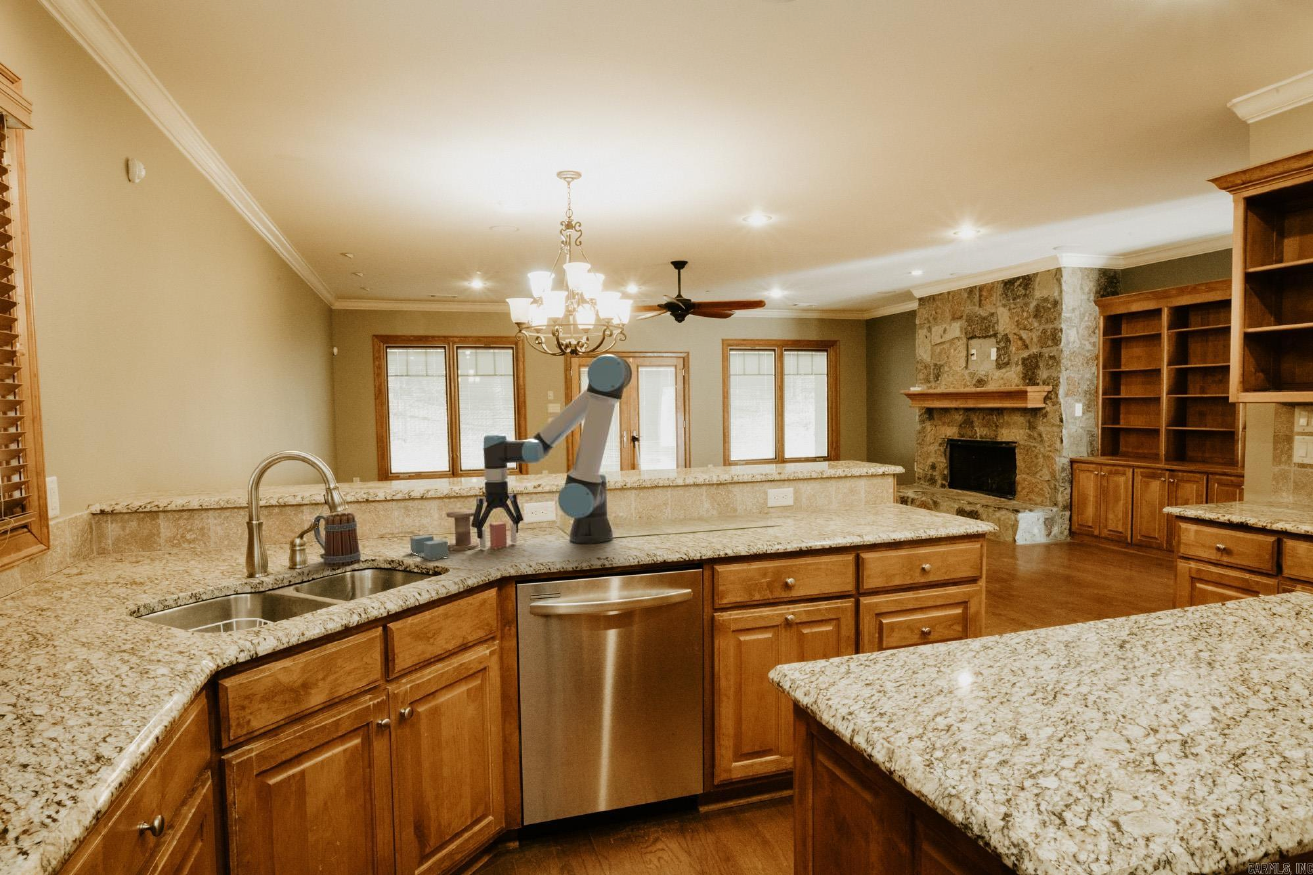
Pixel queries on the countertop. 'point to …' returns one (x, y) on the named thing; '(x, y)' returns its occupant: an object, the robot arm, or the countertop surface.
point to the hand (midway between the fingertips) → (498, 545)
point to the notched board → (429, 547)
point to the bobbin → (462, 530)
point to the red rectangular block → (498, 535)
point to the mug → (338, 539)
